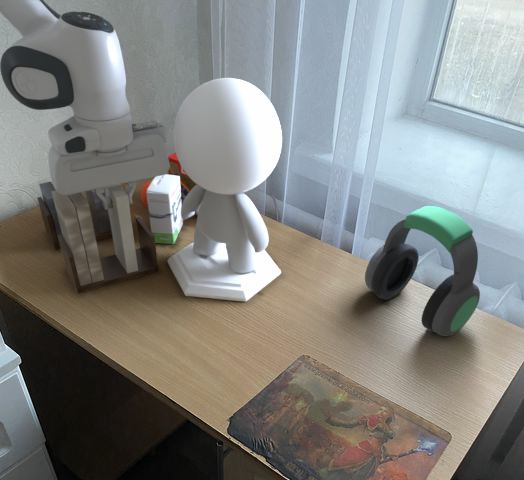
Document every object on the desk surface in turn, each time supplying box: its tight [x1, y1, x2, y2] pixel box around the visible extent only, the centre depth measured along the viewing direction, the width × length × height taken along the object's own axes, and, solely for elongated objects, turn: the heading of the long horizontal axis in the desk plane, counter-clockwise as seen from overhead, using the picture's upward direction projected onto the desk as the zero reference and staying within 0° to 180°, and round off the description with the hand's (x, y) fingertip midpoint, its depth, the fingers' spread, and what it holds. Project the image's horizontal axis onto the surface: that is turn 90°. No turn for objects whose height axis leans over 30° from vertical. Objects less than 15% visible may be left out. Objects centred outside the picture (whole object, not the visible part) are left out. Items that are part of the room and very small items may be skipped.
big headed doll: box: [167, 77, 283, 303], centre depth 95 cm, size 20×23×35 cm
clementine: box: [140, 177, 155, 209], centre depth 121 cm, size 8×7×7 cm
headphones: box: [364, 205, 481, 337], centre depth 93 cm, size 19×11×20 cm, turn 40°
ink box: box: [146, 173, 184, 245], centre depth 112 cm, size 9×5×12 cm, turn 173°
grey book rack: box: [36, 181, 113, 251], centre depth 111 cm, size 16×8×12 cm, turn 120°
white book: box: [104, 184, 138, 273], centre depth 100 cm, size 2×7×16 cm, turn 30°
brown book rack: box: [51, 190, 159, 294], centre depth 100 cm, size 16×8×17 cm, turn 120°
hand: (117, 205), depth 97 cm, fingers closed on white book, 2 cm apart
